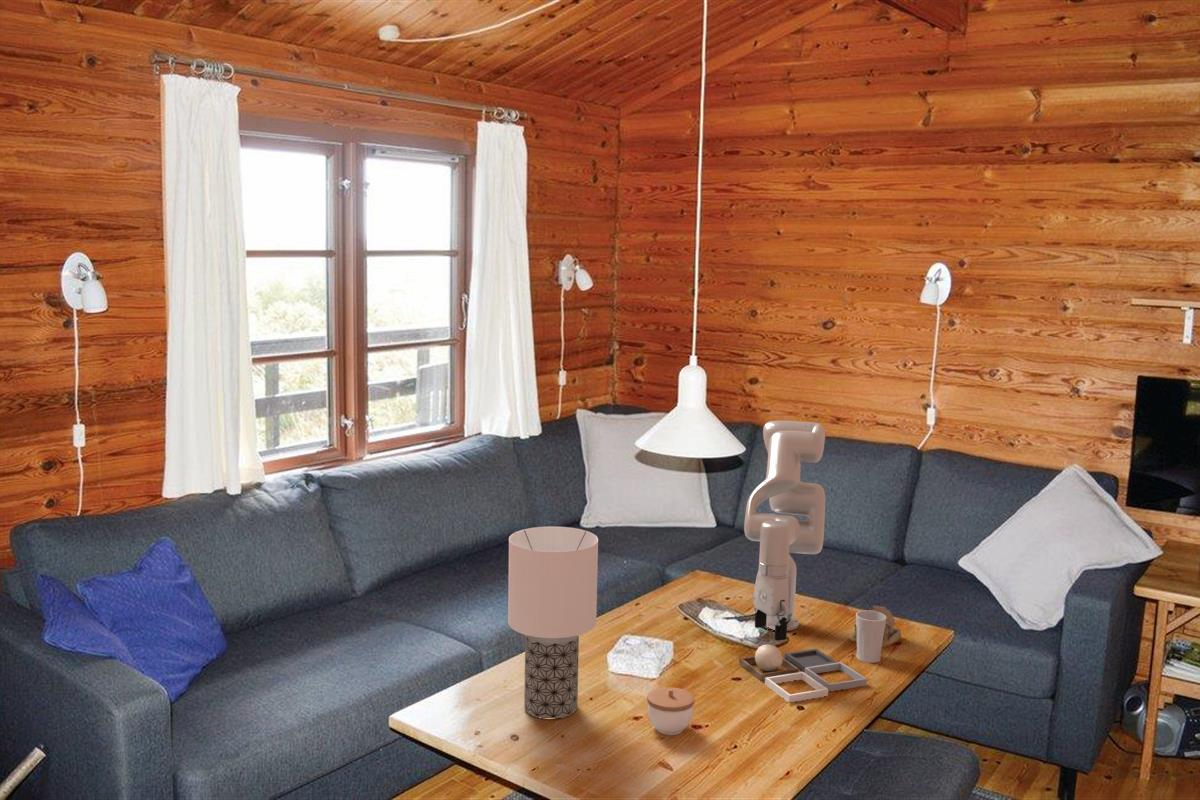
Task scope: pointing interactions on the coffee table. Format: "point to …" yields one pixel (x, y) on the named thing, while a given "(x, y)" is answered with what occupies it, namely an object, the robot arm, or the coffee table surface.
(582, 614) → the lamp
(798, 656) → the dark grey tray
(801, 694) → the white frame
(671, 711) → the lidded jar
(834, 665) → the grey frame
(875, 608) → the ceramic model
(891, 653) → the coffee table surface
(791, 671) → the walnut frame
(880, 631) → the cup
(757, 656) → the beige ball
